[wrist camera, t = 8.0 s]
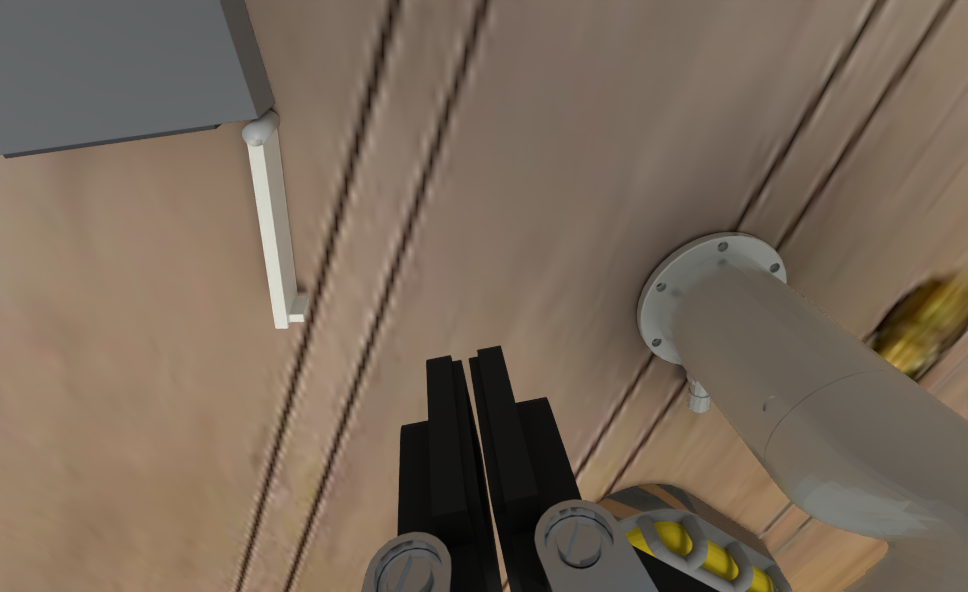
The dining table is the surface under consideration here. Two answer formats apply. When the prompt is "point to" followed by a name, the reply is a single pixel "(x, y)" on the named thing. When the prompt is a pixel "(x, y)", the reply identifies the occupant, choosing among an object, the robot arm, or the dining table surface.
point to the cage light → (695, 539)
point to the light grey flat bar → (274, 219)
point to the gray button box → (124, 71)
